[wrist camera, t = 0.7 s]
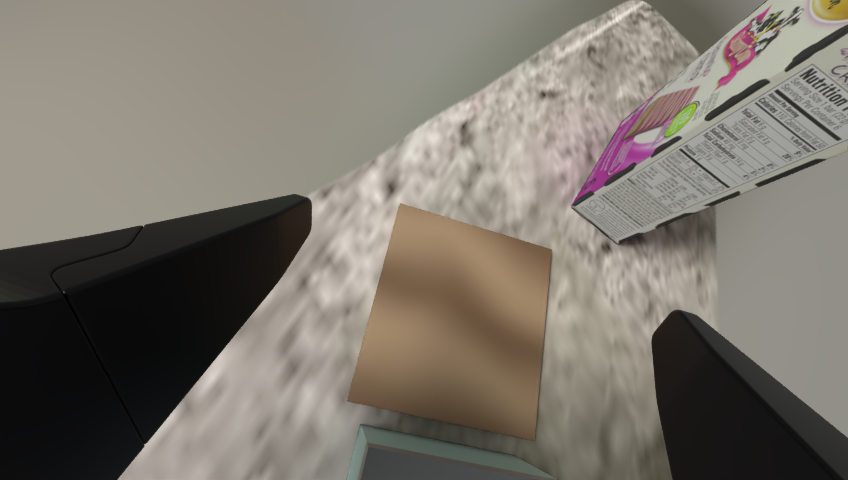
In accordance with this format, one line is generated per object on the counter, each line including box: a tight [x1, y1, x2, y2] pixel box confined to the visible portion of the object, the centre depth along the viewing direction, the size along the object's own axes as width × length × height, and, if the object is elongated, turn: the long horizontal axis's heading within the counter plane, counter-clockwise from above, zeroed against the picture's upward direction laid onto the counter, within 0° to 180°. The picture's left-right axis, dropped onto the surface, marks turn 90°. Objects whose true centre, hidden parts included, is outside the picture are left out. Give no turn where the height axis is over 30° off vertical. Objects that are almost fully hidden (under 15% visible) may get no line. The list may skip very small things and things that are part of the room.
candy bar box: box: [571, 0, 848, 244], centre depth 21 cm, size 11×5×16 cm, turn 144°
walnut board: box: [347, 203, 552, 441], centre depth 22 cm, size 12×11×1 cm
